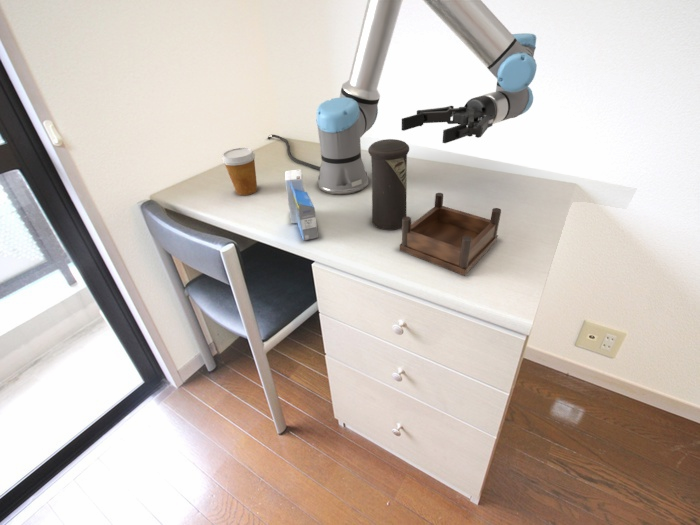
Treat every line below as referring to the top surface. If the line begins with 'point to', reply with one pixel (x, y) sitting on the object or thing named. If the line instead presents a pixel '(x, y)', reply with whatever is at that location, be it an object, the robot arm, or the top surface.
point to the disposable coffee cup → (241, 169)
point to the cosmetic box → (297, 185)
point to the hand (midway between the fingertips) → (422, 130)
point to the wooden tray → (450, 236)
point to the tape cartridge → (305, 214)
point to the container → (389, 183)
